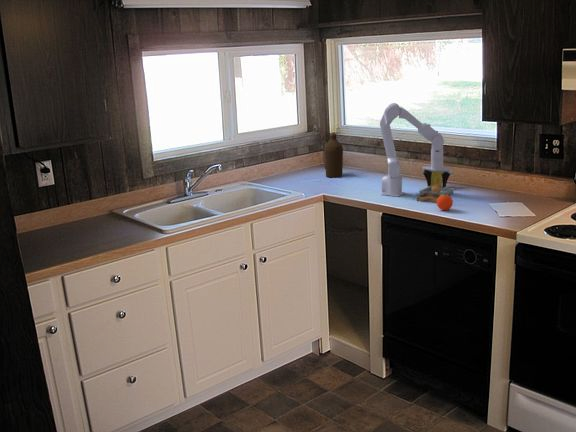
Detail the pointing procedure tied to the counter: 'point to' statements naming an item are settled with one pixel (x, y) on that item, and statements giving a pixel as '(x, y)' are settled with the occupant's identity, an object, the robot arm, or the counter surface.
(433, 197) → the tray
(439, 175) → the plant pot
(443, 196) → the clementine
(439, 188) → the ball
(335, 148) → the olive oil
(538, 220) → the counter surface
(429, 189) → the dish
